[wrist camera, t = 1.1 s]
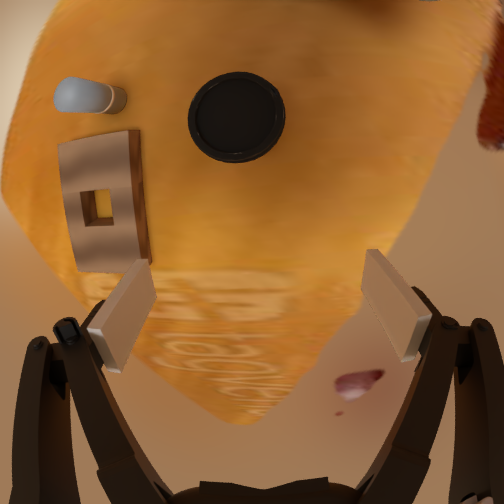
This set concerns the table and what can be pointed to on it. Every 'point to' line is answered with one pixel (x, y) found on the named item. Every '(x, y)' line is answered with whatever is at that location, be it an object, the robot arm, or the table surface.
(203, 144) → the coffee cup
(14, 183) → the table surface
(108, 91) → the peg
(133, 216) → the board
